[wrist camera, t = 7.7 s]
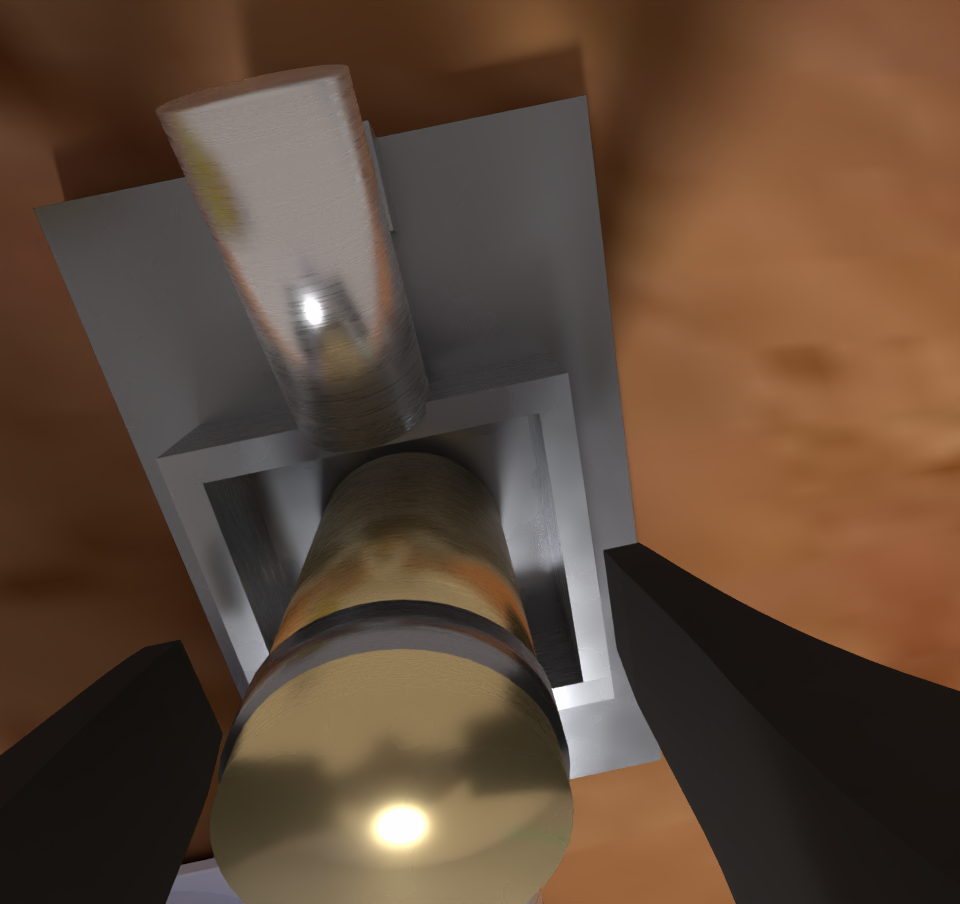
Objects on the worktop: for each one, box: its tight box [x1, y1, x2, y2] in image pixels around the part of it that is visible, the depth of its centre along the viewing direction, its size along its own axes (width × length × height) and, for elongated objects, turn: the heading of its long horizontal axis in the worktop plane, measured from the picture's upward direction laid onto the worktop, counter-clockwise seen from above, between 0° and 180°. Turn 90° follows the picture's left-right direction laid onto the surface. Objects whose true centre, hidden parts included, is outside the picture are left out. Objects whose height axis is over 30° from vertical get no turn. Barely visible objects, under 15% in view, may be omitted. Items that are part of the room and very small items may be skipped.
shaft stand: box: [33, 64, 661, 904], centre depth 12 cm, size 17×10×5 cm, turn 11°
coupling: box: [210, 452, 574, 904], centre depth 10 cm, size 4×4×7 cm
